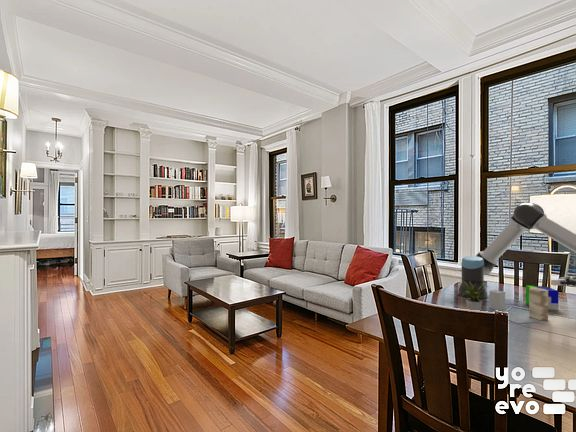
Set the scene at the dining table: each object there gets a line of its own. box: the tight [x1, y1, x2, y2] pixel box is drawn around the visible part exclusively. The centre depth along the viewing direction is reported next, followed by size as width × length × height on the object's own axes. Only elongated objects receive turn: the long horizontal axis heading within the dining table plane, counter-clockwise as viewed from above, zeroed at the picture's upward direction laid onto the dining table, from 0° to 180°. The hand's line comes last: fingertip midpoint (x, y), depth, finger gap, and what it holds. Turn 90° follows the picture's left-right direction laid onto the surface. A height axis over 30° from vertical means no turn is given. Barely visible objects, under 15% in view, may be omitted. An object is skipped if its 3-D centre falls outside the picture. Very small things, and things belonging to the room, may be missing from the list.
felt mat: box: [508, 314, 541, 325], centre depth 145 cm, size 12×9×1 cm
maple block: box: [528, 288, 549, 321], centre depth 147 cm, size 5×5×14 cm
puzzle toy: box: [525, 285, 559, 311], centre depth 165 cm, size 10×10×10 cm
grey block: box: [488, 289, 506, 311], centre depth 162 cm, size 5×5×9 cm
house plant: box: [459, 281, 489, 312], centre depth 157 cm, size 14×14×16 cm
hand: (552, 282), depth 147 cm, fingers closed
